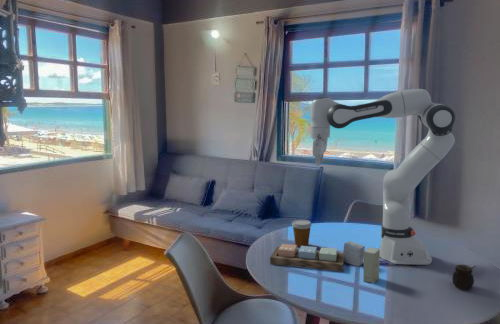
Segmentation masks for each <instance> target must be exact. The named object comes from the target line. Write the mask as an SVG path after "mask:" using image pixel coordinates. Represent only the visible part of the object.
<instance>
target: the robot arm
mask: <svg viewBox="0 0 500 324" xmlns="http://www.w3.org/2000/svg"><path fill="white" fill-rule="evenodd" d="M309 113H310V114H309V115H310V126H309V127H310V128H309V131H310V132H309V137H310V138H312V156H313V157H314V159H315V166H321V163H323V162H324V154H325V152H326V151H327V148H328V140H329V139H328V138H331V137H330V136H331V127H332V128H334V129H344V128H346V127H347V126H349V125H350V124H352V123H353V122H356V121H361V120H367V119H372V118H383V119H384V118H386V119H395V118H404V117H409V116H417V117H418V119H419V120H420V122H421V124H422V125H423V126H424V127H425V128H426V129H428V132H427V134H426V136H425V137H424V138H423V139H422V140H421V141H420V142H419V143H418V144H417V145H416V146H415V147H414V148H413V149H412V150H411V151H410V152H409V154H407V155H406V156H405V158H404V159H403V160H402V162H401V163H400V164H399V165H398V167H396V169H391V170H389V171H387V172H386V173H385V175H384V176H383V181H382V182H383V183H382V184H383V185H382V224H381V227H380V236H381V240H380V244H379V245H380V246H379V249H380V254H379V258H381V259H383V260H385V261H388V262H390V263H391V264H394V265H417V266H419V265H420V266H421V265H422V266H426V265H427V266H428V265H431V264H432V262H433V258H432V255H430V253H428V252H427V247H426V246H425V244H424V242H423V241H421V240H420V239H419V238H418V237H416V236H415V235H416V231H415V230H414V228H413V227H412V226H410V195H411V193H413V191H414V190H415V189H416V188H417V186H419V184H420V183H421V182H422V180H423V179H424V177H425V176H427V174H428V173H429V172H430V171H431V170H432V169H433V168H434V167H435V166H436V165H437V164H439V162H440V161H442V160H443V158H445V157H446V156H447V154H448V153H449V152H450V151H451V149H452V147H453V146H454V144H455V142H456V140H455V139H456V138H455V136H454V134H453V133H452V131H453V127H454V124H455V120H456V113H455V112H454V110H453V109H452V108H451V107H450V106H448V105H445V104H443V103H436V102H433V101H432V97H431V94H430V93H429V91H428V90H426V89H423V88H409V89H404V90H398V91H394V92H391V93H389V94H385V95H383V96H381V97H380V98H378V99H376V100H375V101H371V102H368V103H361V104H357V105H346V104H341V103H339V102H337V101H334V100H333V99H331V98H330V97H328V96H322V97H317V98H315V99H313V100H312V102H311V103H310V112H309Z"/></svg>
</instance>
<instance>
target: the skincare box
mask: <svg viewBox="0 0 500 324" xmlns="http://www.w3.org/2000/svg"><path fill="white" fill-rule="evenodd" d="M379 254H380V248H375V247H371V246H369V247H367V248H365V250H364V258H363V279H362V281H364V282H366V283H367V282H368V283H372V284H374V283H376V282H377V281H378V280H379V279H380V257H379Z"/></svg>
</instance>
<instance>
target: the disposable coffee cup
mask: <svg viewBox="0 0 500 324" xmlns="http://www.w3.org/2000/svg"><path fill="white" fill-rule="evenodd" d="M291 226H292V229H293V236H294V237H293V238H294V245H297V248H300V247H301V246H309V241H310V233H311V227H312V223H311V221H310V220H307V219H295V220H293V221H292V223H291Z"/></svg>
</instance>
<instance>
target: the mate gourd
mask: <svg viewBox="0 0 500 324" xmlns="http://www.w3.org/2000/svg"><path fill="white" fill-rule="evenodd" d="M476 266H477V265H474V266H472V267H471V266H470V265H466V264H456V265H455V268H454V269H455V270H454V272H453V274H452V277H451V278H452V284H453V285H454V287H455V288H457V289H459V290H463V291H468V290H470V289H472V288H473V286H474V283H475V278H474V276H473V269H474V268H475V267H476Z"/></svg>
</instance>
